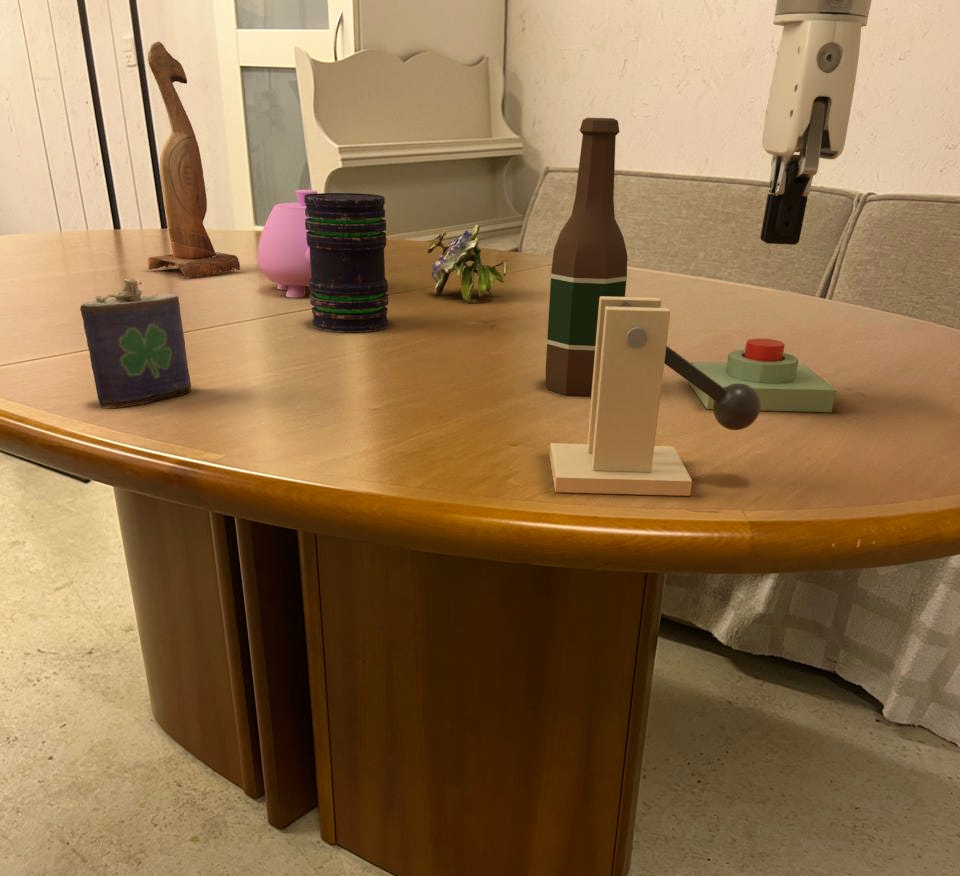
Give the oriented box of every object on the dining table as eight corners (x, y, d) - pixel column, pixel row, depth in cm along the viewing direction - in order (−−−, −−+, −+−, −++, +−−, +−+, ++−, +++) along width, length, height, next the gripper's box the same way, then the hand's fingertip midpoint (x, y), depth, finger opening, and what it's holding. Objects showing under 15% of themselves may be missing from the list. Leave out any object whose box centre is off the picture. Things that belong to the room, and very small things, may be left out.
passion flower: (440, 332, 142) (419, 258, 142) (507, 316, 143) (487, 243, 143) (444, 299, 131) (422, 219, 131) (518, 283, 132) (495, 204, 132)
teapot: (384, 302, 133) (381, 196, 126) (276, 307, 128) (267, 197, 121) (346, 278, 150) (342, 184, 143) (249, 282, 145) (240, 185, 138)
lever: (733, 430, 72) (763, 394, 70) (743, 444, 69) (775, 407, 67) (599, 333, 68) (627, 293, 67) (603, 343, 65) (633, 301, 64)
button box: (801, 385, 97) (809, 346, 95) (831, 412, 88) (840, 370, 86) (687, 382, 97) (692, 343, 95) (706, 409, 88) (712, 367, 86)
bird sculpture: (244, 271, 154) (222, 43, 138) (186, 279, 146) (155, 38, 130) (202, 264, 160) (177, 45, 144) (144, 271, 152) (109, 39, 136)
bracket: (672, 460, 75) (694, 295, 69) (690, 496, 68) (716, 315, 62) (549, 457, 75) (559, 291, 69) (555, 492, 68) (567, 312, 62)
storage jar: (381, 316, 124) (377, 192, 117) (396, 331, 116) (393, 199, 109) (306, 318, 122) (297, 192, 114) (317, 334, 113) (308, 199, 106)
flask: (183, 386, 91) (167, 271, 86) (199, 393, 89) (184, 275, 84) (93, 404, 85) (70, 281, 80) (108, 411, 84) (85, 286, 78)
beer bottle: (530, 379, 97) (544, 116, 85) (598, 375, 99) (620, 118, 87) (559, 399, 90) (577, 117, 78) (630, 394, 92) (659, 119, 81)
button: (776, 356, 93) (779, 338, 92) (785, 365, 89) (789, 346, 89) (740, 355, 93) (743, 337, 92) (748, 364, 89) (751, 345, 89)
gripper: (902, -2, 70) (845, 256, 80) (839, 13, 83) (796, 234, 92) (803, -7, 70) (758, 253, 79) (756, 9, 83) (721, 231, 92)
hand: (779, 242), depth 86 cm, fingers closed
